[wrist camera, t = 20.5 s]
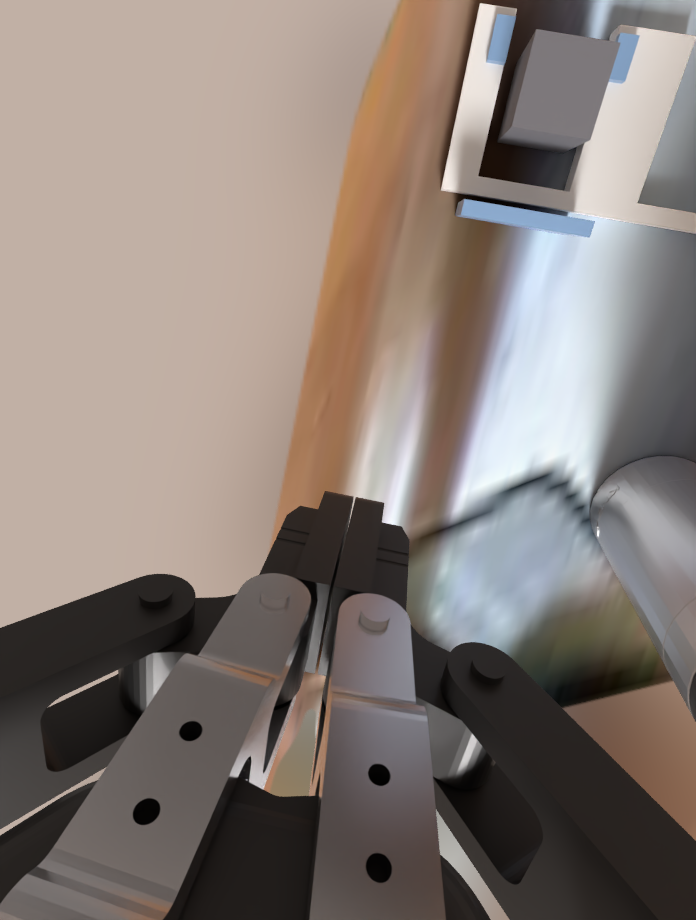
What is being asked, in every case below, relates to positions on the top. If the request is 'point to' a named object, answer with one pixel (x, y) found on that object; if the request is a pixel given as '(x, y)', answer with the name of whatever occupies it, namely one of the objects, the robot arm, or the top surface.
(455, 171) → the white prong rack
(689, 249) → the top surface
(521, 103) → the plug
